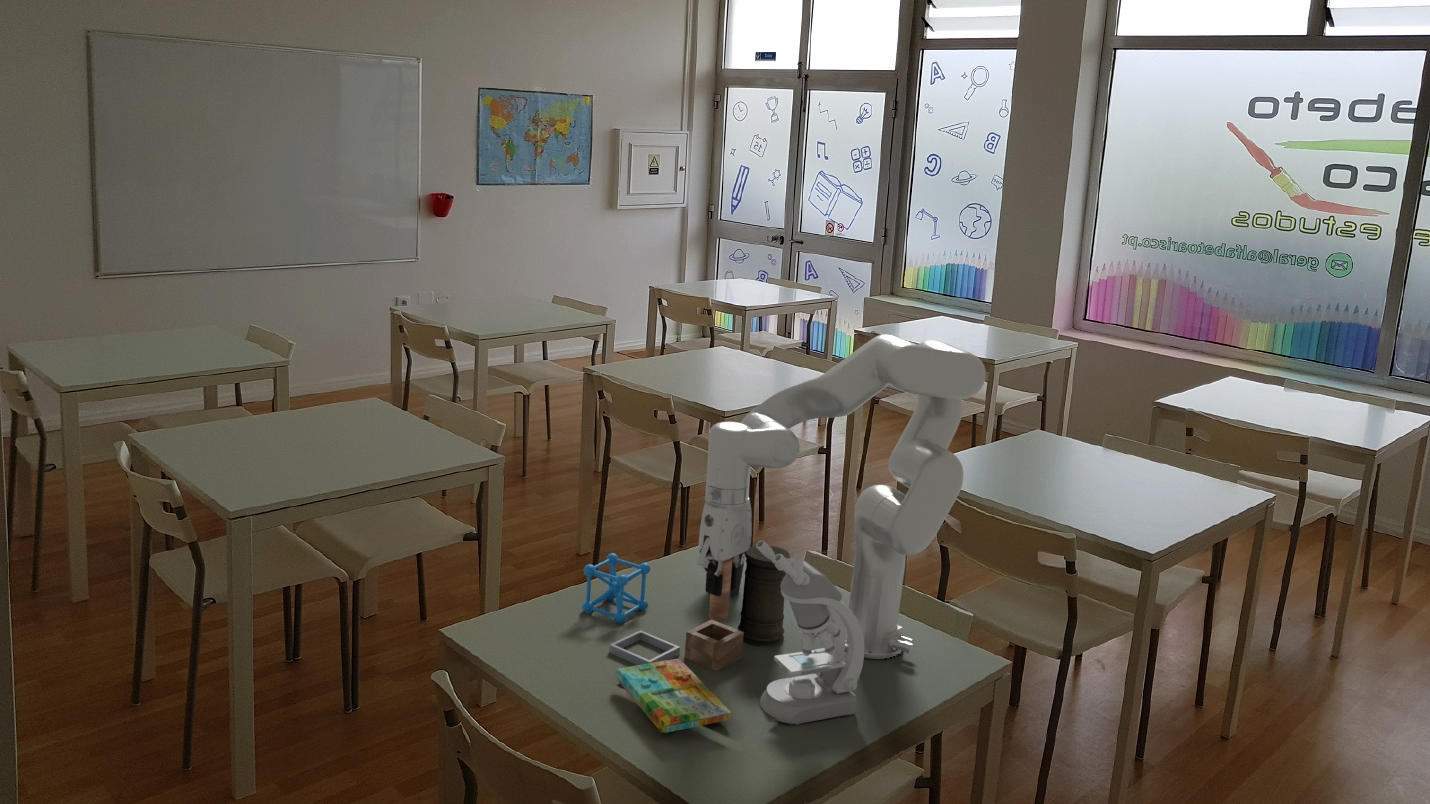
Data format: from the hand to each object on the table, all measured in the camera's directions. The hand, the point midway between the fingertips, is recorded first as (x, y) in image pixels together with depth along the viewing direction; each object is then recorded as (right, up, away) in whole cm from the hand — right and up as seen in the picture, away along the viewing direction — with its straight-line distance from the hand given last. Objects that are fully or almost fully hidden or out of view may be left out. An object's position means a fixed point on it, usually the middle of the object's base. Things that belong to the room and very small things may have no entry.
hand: (720, 589), depth 201 cm
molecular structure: (-21, -8, +22) cm, 31 cm away
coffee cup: (+1, -6, +35) cm, 36 cm away
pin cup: (-1, -14, +3) cm, 14 cm away
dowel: (0, -5, +1) cm, 5 cm away
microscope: (+13, -19, -11) cm, 25 cm away
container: (+7, -12, +13) cm, 20 cm away
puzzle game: (-8, -18, -14) cm, 24 cm away
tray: (-14, -13, +3) cm, 19 cm away
